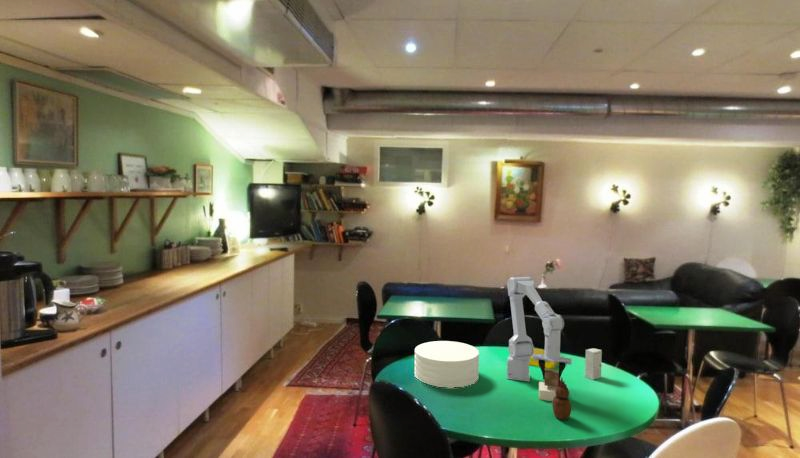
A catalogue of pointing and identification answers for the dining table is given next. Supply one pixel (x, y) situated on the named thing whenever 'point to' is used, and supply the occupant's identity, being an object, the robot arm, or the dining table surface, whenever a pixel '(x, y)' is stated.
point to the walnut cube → (551, 377)
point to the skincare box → (593, 363)
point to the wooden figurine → (561, 401)
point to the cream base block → (546, 392)
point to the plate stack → (446, 364)
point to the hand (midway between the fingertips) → (551, 379)
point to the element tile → (548, 364)
